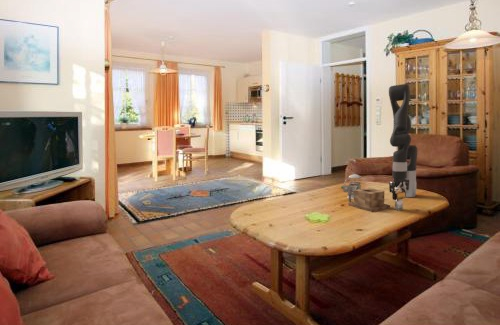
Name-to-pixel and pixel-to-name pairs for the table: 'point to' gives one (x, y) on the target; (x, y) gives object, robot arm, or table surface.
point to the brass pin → (399, 200)
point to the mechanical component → (349, 190)
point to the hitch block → (369, 199)
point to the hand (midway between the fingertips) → (399, 198)
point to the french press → (353, 183)
